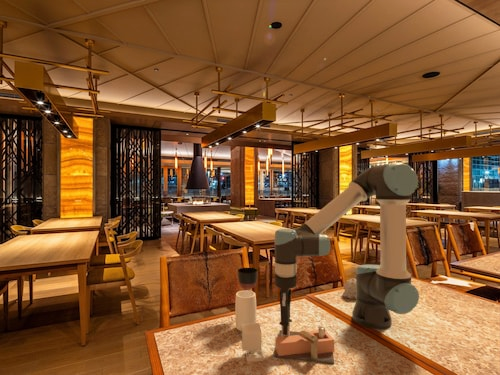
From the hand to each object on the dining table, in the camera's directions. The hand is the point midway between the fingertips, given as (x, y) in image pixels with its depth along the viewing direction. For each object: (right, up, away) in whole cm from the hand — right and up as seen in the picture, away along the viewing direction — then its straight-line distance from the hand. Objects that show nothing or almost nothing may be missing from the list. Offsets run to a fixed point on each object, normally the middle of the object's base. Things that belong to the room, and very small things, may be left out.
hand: (285, 341), depth 97 cm
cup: (-14, -3, +14) cm, 20 cm away
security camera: (-12, -3, -4) cm, 13 cm away
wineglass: (-13, -3, +26) cm, 29 cm away
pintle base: (+7, -3, +1) cm, 7 cm away
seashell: (+43, -3, +48) cm, 64 cm away
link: (+6, -1, -2) cm, 6 cm away
